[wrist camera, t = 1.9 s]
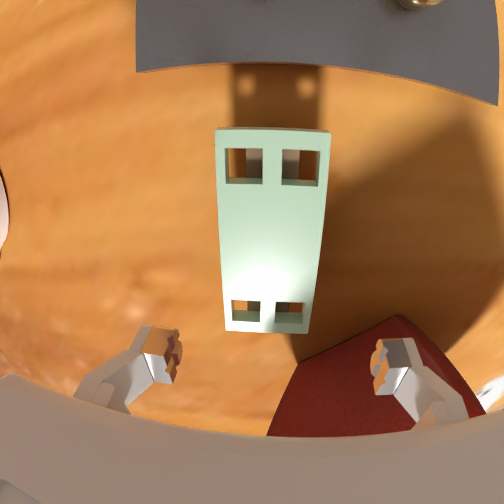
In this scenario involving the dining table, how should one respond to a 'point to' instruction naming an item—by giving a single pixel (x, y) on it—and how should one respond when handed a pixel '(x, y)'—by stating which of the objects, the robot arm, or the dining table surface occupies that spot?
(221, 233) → the board
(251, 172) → the stand
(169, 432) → the robot arm
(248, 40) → the peg assembly base
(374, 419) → the plant pot
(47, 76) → the dining table surface
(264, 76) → the dining table surface
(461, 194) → the dining table surface
